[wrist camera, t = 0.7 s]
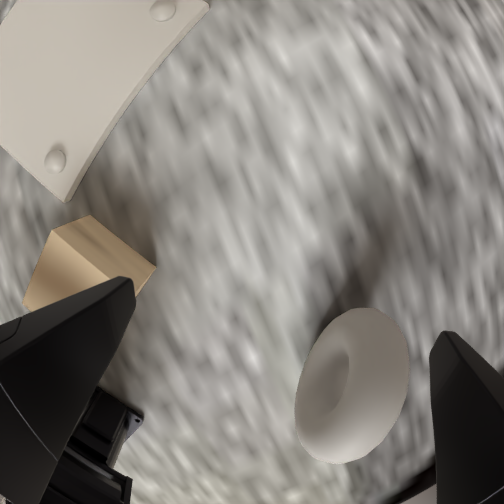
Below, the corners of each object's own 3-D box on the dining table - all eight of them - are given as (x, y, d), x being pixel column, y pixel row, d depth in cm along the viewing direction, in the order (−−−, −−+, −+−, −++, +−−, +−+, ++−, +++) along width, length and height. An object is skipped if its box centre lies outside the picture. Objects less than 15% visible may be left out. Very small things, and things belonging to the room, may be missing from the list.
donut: (319, 397, 24) (342, 496, 15) (280, 387, 24) (291, 491, 14) (381, 292, 22) (451, 373, 12) (341, 276, 21) (398, 359, 12)
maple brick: (117, 325, 23) (91, 361, 18) (58, 277, 22) (22, 303, 17) (157, 266, 21) (132, 295, 17) (90, 214, 20) (51, 229, 16)
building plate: (70, 200, 20) (59, 203, 18) (-34, 103, 17) (-45, 102, 16) (209, 9, 16) (206, -1, 15) (69, -50, 14) (61, -57, 12)
